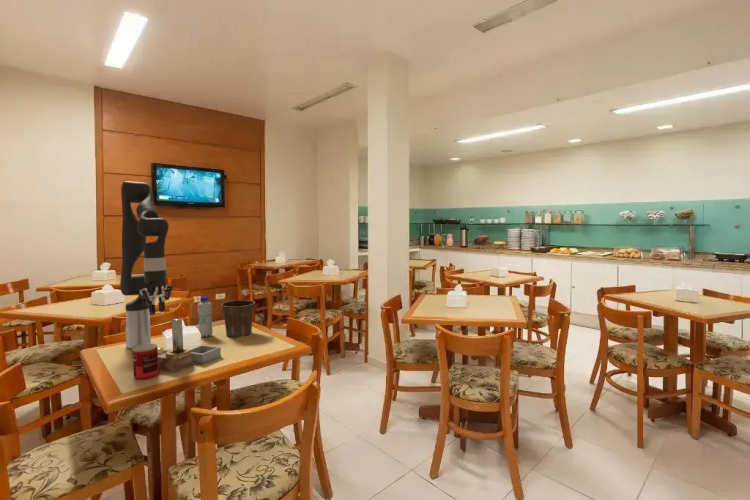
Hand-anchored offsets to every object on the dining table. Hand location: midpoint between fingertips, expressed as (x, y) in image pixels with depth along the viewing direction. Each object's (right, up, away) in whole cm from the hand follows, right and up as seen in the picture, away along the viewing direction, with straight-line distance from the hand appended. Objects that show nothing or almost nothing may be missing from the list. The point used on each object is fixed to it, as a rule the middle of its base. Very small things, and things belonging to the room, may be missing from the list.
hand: (157, 312), depth 152 cm
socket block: (+5, -21, 0) cm, 22 cm away
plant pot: (+17, -18, +44) cm, 51 cm away
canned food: (+2, -22, -10) cm, 24 cm away
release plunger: (0, -20, +1) cm, 20 cm away
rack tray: (+14, -21, +8) cm, 26 cm away
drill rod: (+10, -16, -2) cm, 19 cm away
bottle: (+1, -19, +41) cm, 45 cm away
